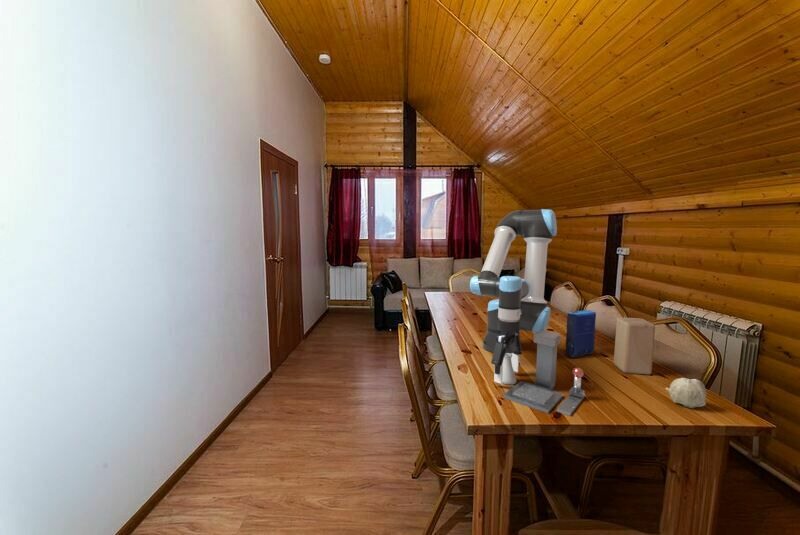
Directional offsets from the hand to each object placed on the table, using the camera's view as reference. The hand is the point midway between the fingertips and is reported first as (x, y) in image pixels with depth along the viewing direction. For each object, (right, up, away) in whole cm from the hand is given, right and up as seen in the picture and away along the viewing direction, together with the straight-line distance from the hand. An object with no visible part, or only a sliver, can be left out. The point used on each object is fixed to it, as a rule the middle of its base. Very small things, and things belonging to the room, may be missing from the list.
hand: (506, 376), depth 122 cm
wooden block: (+53, -1, +11) cm, 55 cm away
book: (+41, +1, +27) cm, 49 cm away
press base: (+9, -3, -11) cm, 15 cm away
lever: (+19, -2, -12) cm, 23 cm away
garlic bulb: (+51, -4, -16) cm, 54 cm away
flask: (0, -2, 0) cm, 2 cm away
